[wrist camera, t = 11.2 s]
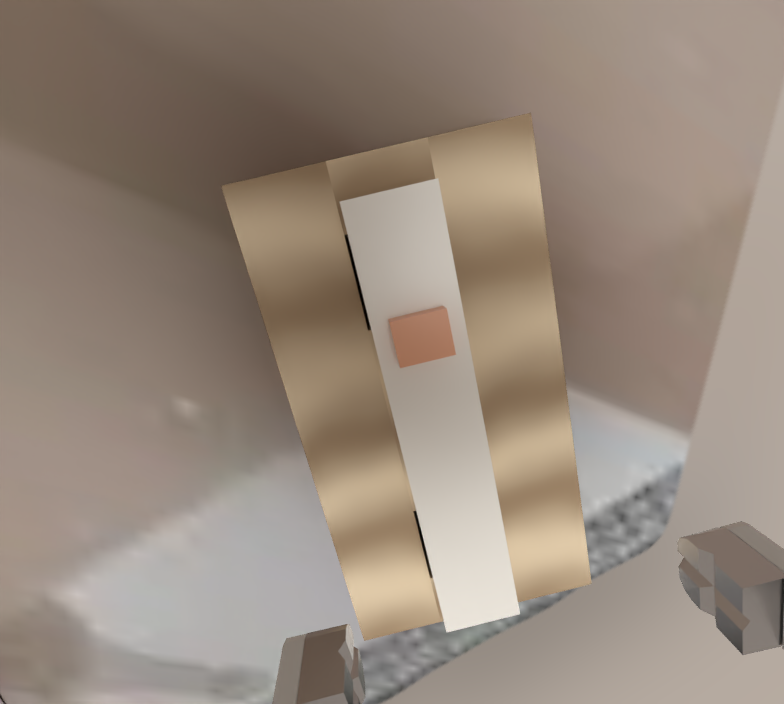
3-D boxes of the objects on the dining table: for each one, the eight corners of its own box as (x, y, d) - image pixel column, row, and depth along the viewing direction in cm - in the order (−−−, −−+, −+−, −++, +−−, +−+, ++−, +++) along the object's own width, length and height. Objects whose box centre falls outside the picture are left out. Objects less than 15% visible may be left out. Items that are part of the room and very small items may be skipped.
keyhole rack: (247, 197, 23) (220, 185, 18) (498, 138, 23) (530, 112, 18) (363, 582, 29) (364, 640, 25) (557, 533, 29) (591, 583, 25)
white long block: (345, 213, 22) (338, 199, 16) (418, 195, 22) (442, 174, 16) (428, 551, 28) (449, 646, 21) (487, 537, 28) (526, 627, 21)
